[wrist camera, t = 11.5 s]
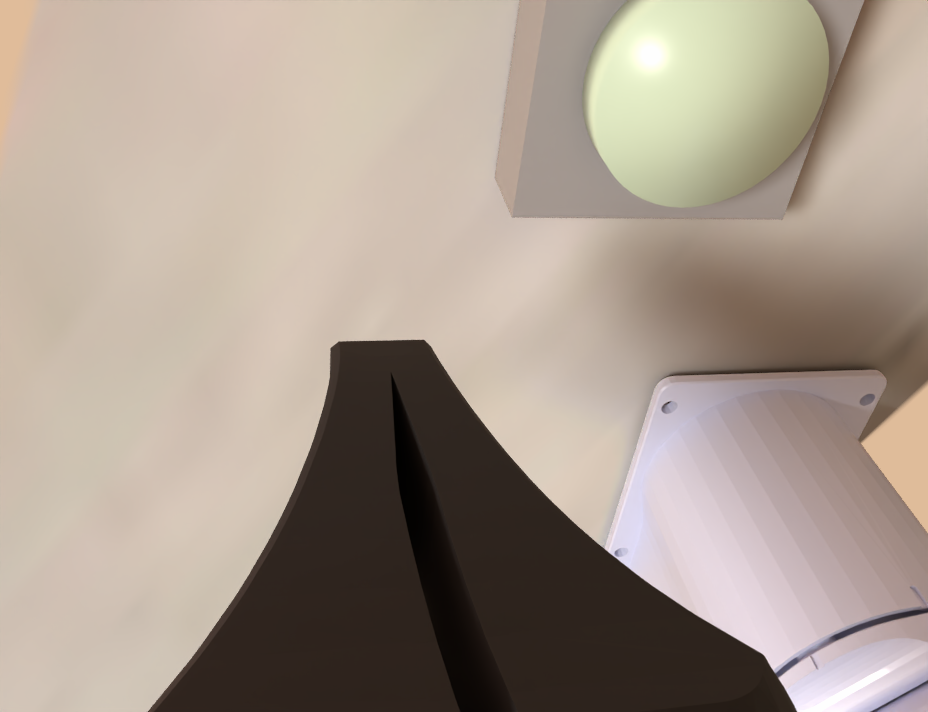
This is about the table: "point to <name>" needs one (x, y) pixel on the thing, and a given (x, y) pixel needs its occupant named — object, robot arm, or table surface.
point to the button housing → (565, 135)
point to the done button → (703, 94)
